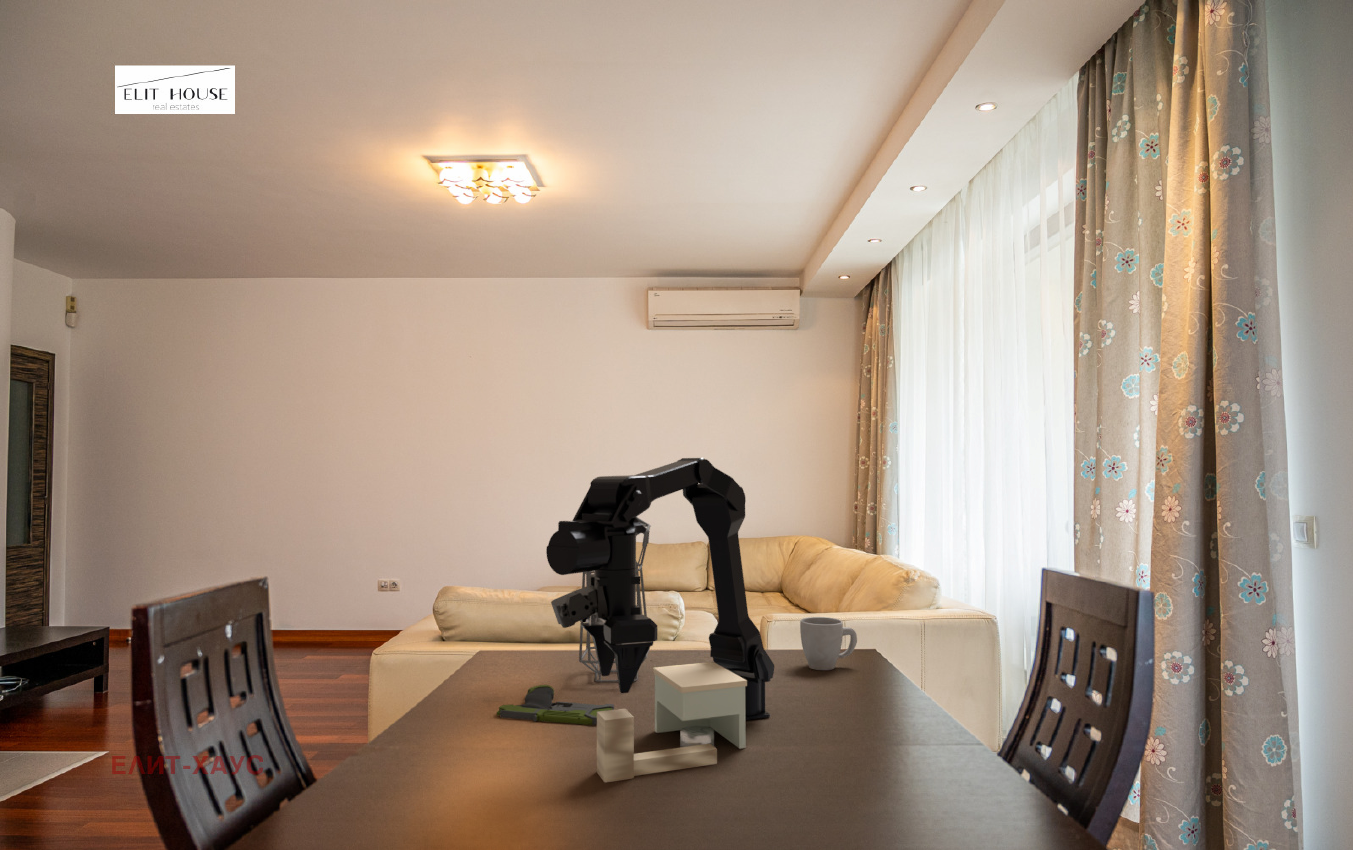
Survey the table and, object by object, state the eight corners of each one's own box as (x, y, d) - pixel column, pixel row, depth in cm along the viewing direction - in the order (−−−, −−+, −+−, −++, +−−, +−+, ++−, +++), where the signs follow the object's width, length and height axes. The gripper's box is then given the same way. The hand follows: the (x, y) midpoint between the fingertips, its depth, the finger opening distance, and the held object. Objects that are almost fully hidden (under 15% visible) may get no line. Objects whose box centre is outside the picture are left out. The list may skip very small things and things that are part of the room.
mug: (806, 672, 158) (806, 625, 159) (796, 662, 167) (795, 617, 168) (863, 671, 159) (863, 624, 160) (850, 661, 168) (849, 616, 169)
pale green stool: (713, 723, 126) (713, 661, 127) (747, 748, 114) (747, 680, 115) (653, 730, 122) (653, 667, 123) (681, 757, 111) (681, 687, 111)
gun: (627, 704, 139) (602, 733, 124) (527, 696, 143) (492, 723, 128) (627, 690, 139) (602, 717, 124) (528, 682, 143) (492, 708, 128)
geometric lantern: (652, 687, 147) (648, 503, 149) (570, 689, 147) (567, 505, 149) (656, 666, 163) (652, 499, 165) (581, 668, 163) (578, 501, 165)
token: (706, 740, 118) (705, 723, 118) (719, 751, 114) (719, 734, 114) (675, 744, 116) (675, 727, 117) (687, 755, 112) (687, 738, 112)
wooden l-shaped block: (707, 756, 111) (707, 699, 112) (719, 765, 108) (719, 706, 108) (596, 771, 105) (596, 711, 106) (604, 782, 102) (604, 720, 102)
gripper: (543, 563, 112) (541, 673, 111) (573, 578, 95) (571, 709, 94) (617, 560, 116) (616, 666, 115) (659, 575, 99) (658, 700, 98)
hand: (614, 684), depth 105 cm, fingers open, 9 cm apart
